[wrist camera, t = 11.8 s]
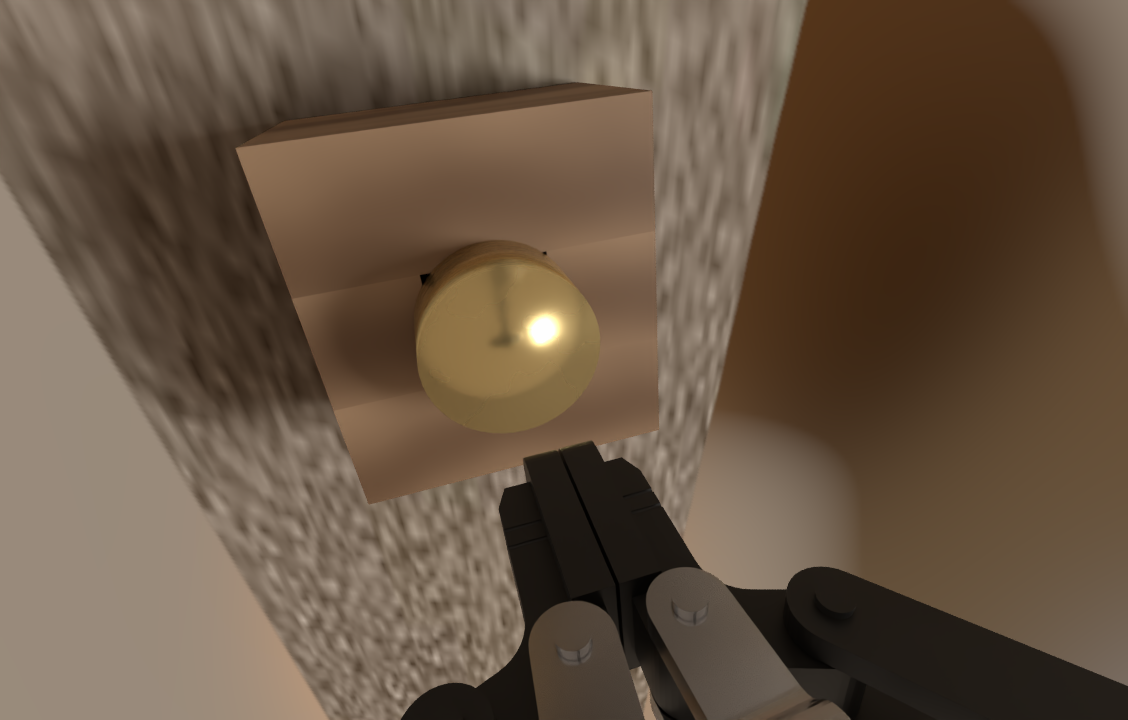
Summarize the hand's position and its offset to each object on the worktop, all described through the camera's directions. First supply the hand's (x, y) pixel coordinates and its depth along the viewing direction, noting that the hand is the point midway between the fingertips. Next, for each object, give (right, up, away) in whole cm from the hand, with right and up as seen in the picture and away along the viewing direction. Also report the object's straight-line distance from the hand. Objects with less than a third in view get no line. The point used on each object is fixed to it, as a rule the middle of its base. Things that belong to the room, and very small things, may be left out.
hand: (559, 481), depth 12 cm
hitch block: (-4, +8, +14) cm, 17 cm away
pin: (-4, +7, +13) cm, 16 cm away
